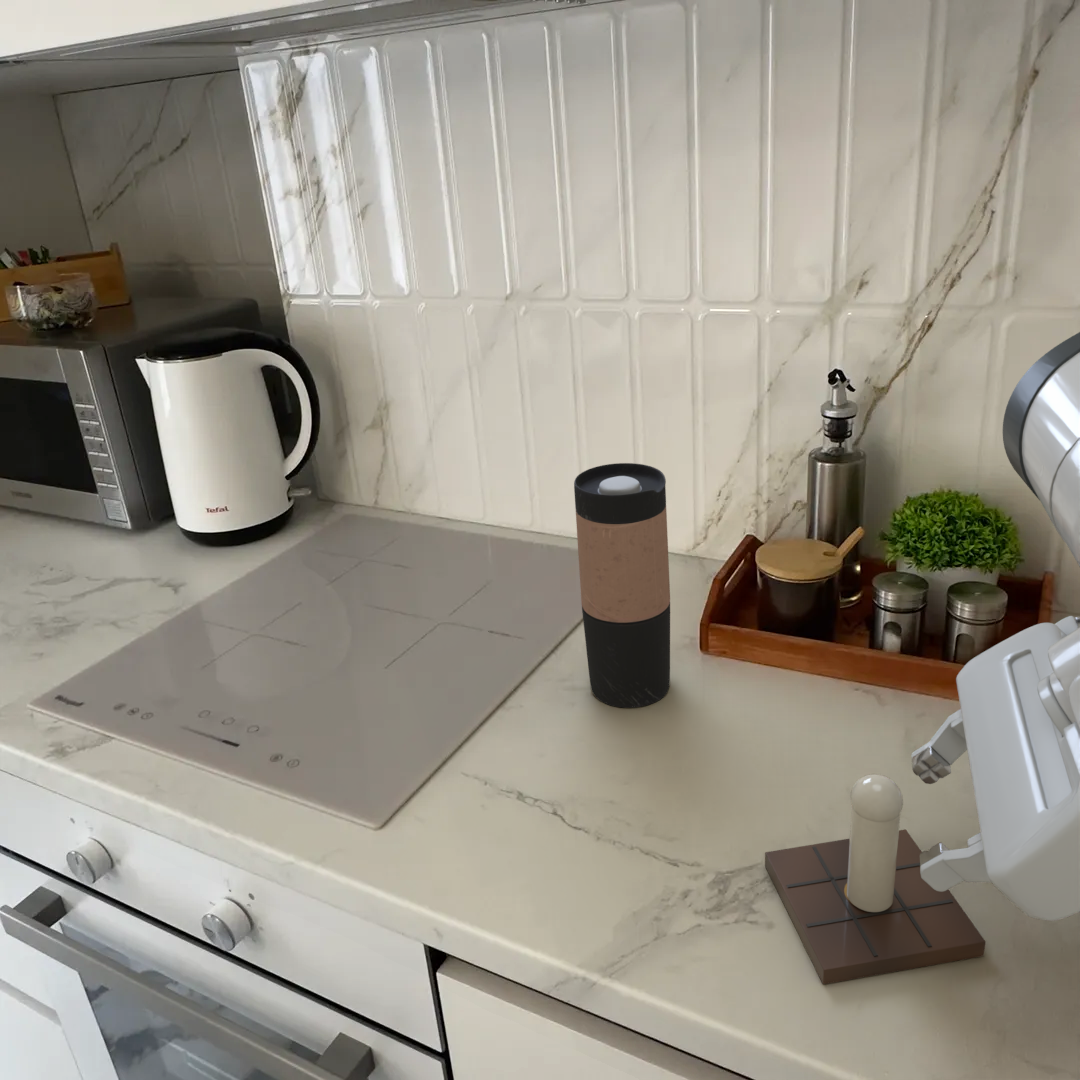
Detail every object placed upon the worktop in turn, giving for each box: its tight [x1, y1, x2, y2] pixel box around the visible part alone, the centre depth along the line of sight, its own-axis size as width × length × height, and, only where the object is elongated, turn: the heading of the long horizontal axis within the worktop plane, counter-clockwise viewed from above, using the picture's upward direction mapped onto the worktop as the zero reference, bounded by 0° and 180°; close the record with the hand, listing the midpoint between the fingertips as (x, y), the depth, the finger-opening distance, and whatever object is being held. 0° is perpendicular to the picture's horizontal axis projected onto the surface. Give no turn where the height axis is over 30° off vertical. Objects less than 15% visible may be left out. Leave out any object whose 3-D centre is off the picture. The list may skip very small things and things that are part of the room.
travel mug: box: [573, 462, 671, 709], centre depth 84 cm, size 8×8×20 cm
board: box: [764, 829, 986, 985], centre depth 62 cm, size 10×10×1 cm
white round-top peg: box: [847, 773, 904, 912], centre depth 60 cm, size 3×3×9 cm
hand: (922, 819), depth 59 cm, fingers open, 8 cm apart
